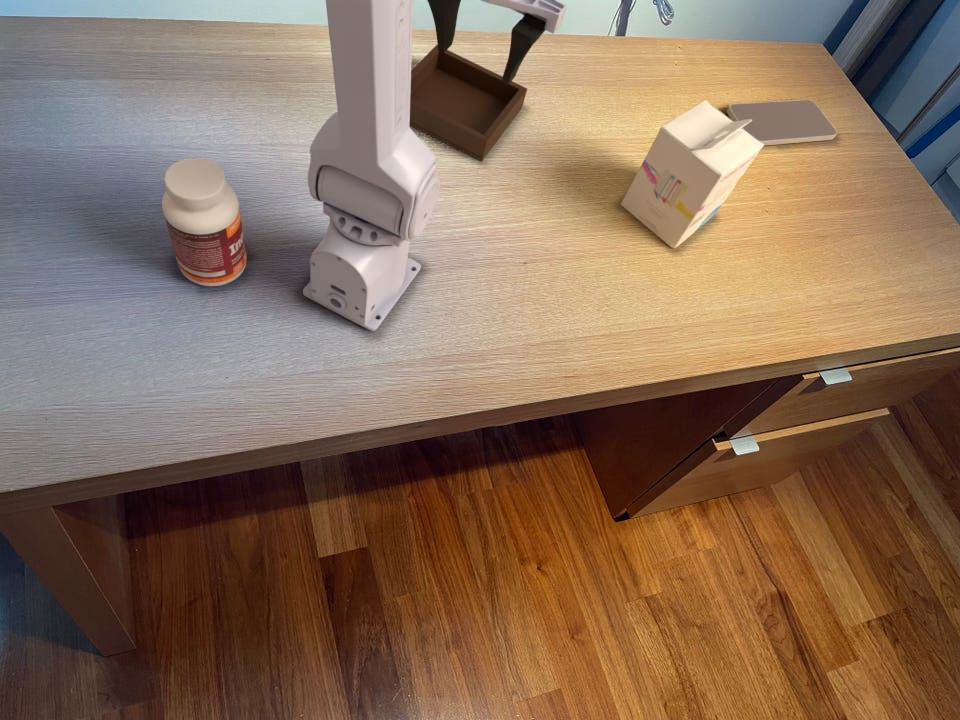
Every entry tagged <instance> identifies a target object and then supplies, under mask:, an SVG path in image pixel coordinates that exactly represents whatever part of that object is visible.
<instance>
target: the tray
mask: <svg viewBox="0 0 960 720" xmlns="http://www.w3.org/2000/svg"><path fill="white" fill-rule="evenodd" d="M502 79H503V75H500V74H498V73H497V72H494V71H492V70H490V69H488V68H486V67H484V66H482V65H481V64H480V65H479V64H478V63H475V62H473V61H471V60H470V59H467V58H465V57H463V56H461V55H459V54H457V53H455V52H453V51H451V50H449V49H447V50H446V51H445V52H444V53H441V52H439V51H438V44H436V45H435V46H434V47H432V49H431V50H430V51H428V52H427V54H426V55H425V56H424V57H422V59H421V60H420V61H419V62H418V63H417V64H416V65H415V66H414V67H413V68H412V69H411V93H410V124H409V127H412V128H414V129H417V130H418V131H420V132H422V133H424V134H425V135H427V136H430V137H431V138H433V139H436V140H438V141H440V142H442V143H444V144H446V145H448V146H450V147H452V148H454V149H456V150H458V151H460V152H462V153H464V154H466V155H468V156H470V157H471V158H474V159H476V160H478V161H480V162H483V161H484V160H485V158H486V157H487V156H488V154H489V153H490V152H491V151H492V149H493V148H494V146H495V145H496V143H497V142H498V141H499V140H500V138H501V137H502V136H503V135H504V133H505V131H506V130H507V129H508V128H509V126H510V125H511V124H512V123H513V121H514V120H515V118H516V117H517V116H518V115H519V113H520V112H521V110H522V109H523V105H524V103H525V99H526V95H527V92H528V88H527V87H525V86H523V85H521V84H519V83H517V82H514V81H513V80H512V81H511V82H510V83H509V85H506V84H504V83H502Z"/></svg>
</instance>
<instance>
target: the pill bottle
mask: <svg viewBox="0 0 960 720" xmlns="http://www.w3.org/2000/svg"><path fill="white" fill-rule="evenodd" d="M225 175H226V174H225V172H224V170H223V169H222V168H221V167H220V166H219V165H218V164H217V163H216V162H214V161H212V160H209V159H206V158H202V157H189V158H183V159H180V160H177V161H176V162H174V163H173V164H171V165H169V167H168V168H167V170H166V171H165V174H164V186H165V192H164V194H163V196H162V201H161V208H162V212H163V217H164V220H165V224H166V227H167V231H168V235H169V238H170V241H171V245H172V248H173V252H174V255H175V259H176V263H177V266H178V268H179V270H180V272H181V273H182V275H183V276H184V277H185V278H186V279H188V280H189V281H191V282H192V283H195V284H197V285H199V286H204V287H220V286H223V285H227V284H230V283H231V282H233V281H235V280H237V279H238V278H239V277H240V276H241V275H242V274H243V272H244V271H245V269H246V266H247V261H248V259H247V258H248V256H247V255H248V254H247V249H246V243H245V237H244V236H245V235H244V228H243V223H242V214H241V209H240V203H239V199H238V196H237V194H236V192H235V190H234V189H233V188H232V187H231V186H230V185H229V184H228V183H227V180H226V176H225Z"/></svg>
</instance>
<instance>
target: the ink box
mask: <svg viewBox="0 0 960 720" xmlns="http://www.w3.org/2000/svg"><path fill="white" fill-rule="evenodd" d="M751 121H752V119H747V120H741V121H736V122H733V121H732V120H731V118H730V117H729V116H727V115H726V114H725V113H723V112H722V111H721V110H719V109H718V108H717V107H715V105H713V104H711V102H709V101H708V100H707V99H704V100H702V101H700V102H699V103H697V104H695V105H694V106H692V107H690V108H689V109H687V110H686V111H684V112H683V113H681V114H679V115H678V116H676V117H675V118H673V119H671V120H669V121H668V122H666V123H665V124H663V125H662V126H661V127H660V128H659V130H658V133H657V134H656V136H655V138H654V141H653V143H652V144H651V146H650V148H649V150H648V152H647V154H646V156H645V158H644V159H643V161H642V163H641V165H640V167H639V169H638V171H637V173H636V175H635V176H634V178H633V180H632V183H631V184H630V186H629V188H628V189H627V191H626V194H625V195H624V198H623V199H622V201H621V202H620V203H621V206H622V207H623V208H624V209H625V210H626V211H628V213H630V215H632V216H633V217H635V218H636V219H637V220H638V221H639V222H641V224H643V225H644V226H645V227H646V228H648V229H649V230H650V231H651V232H652V233H654V234H655V235H656V236H657V237H658V238H660V239H661V240H662V241H663V242H664V243H666V244H667V245H668V246H669V247H670V248H671V249H676V248H678V247H679V246H680V245H681V244H682V243H684V241H686V240H687V239H688V238H690V237H691V236H692V235H693V234H694V233H696V232H697V231H698V230H699V229H700V228H702V226H703V225H705V224H706V223H708V222H709V221H710V220H711V219H712V218H713V217H714V216H715V215H717V212H719V210H720V209H721V207H722V206H723V203H725V201H726V200H727V199H728V197H729V196H730V194H731V192H732V191H733V190H734V188H735V187H736V185H737V184H738V183H739V181H740V179H742V177H743V176H744V174H745V172H746V171H747V170H748V168H749V167H750V165H751V164H752V163H753V161H754V159H756V157H757V155H758V154H759V153H760V151H761V150H762V148H763V147H764V146H765V145H764V144H763V143H761V142H760V141H759V140H757V139H756V138H754V137H753V136H752V135H750V134H749V133H748V132H746V131H745V130H744V129H742V127H744V126H745V125H747V124H748V123H750V122H751Z"/></svg>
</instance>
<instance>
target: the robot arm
mask: <svg viewBox="0 0 960 720" xmlns="http://www.w3.org/2000/svg"><path fill="white" fill-rule="evenodd" d="M426 1H427V3H428V6H429V9H430V11H431V14H432V18H433V22H434V27H435V34H436V42H437V43H436V45H438V51H439V52H441V53H444V52H445V51H446V50H449V48H450V47H451V46H452V45H453V42H454V39H455V33H456V28H457V20H458V15H459V10H460V5H461V3H462V0H426ZM480 1H482V2H484V3H487V4H490V5H495V6H499V7H502V8H506V9H510V10H512V11H514V12H516V13H518V14H521V15H523V17H521V19H520V20H519V21H517V22H516V24H515V25H514V26H513V27H512V29H511V34H510V46H509V53H508V58H507V62H506V65H505V68H504V71H503V74H502V77H503V79H502V83H504V84H506V85H509V83H510V82H511V81H513V80H514V79H515V78H516V75H517V73H518V70H519V68H520V67H521V65H522V63H523V61H524V59H525V58H526V56H527V54H528V53H529V51H530V50H531V49H532V46H533V45H534V44H535V43H536V42H537V41H538V40H539V39H540V37H542V35H543V34H544V33H545V31H547V32H549V33H551V34H555V33H556V32H557V31H558V29H559V28H560V27H561V25H562V23H563V20H564V16H565V14H566V11H567V5H566V4H564V3H562V2H560V1H558V0H480ZM325 5H326V6H325V7H326V17H327V26H328V34H329V46H330V52H331V53H330V54H331V63H332V73H333V80H334V81H333V82H334V90H335V99H336V100H335V101H336V110H337V111H336V112H334V113H333V114H332V115H330V117H329V118H328V119H326V121H325V122H324V123H323V124H322V126H321V127H320V129H319V131H318V132H317V133H316V135H315V136H314V138H313V140H312V142H311V144H310V147H309V154H310V159H309V160H310V161H309V166H308V171H307V186H308V189H309V190H308V191H309V194H310V197H311V198H312V199H313V200H315V201H317V202H321V203H322V213H323V214H324V215H326V216H327V217H329V223H328V226H327V230H326V231H325V235H324V236H323V239H322V240H321V242H320V243H319V244H318V245H317V246H316V248H315V249H314V250H313V252H312V253H311V255H310V258H309V277H310V281H309V282H308V283H307V284H306V285H305V287H304V288H303V289H302V294H303V296H304V297H306V298H308V299H309V300H311V301H313V302H315V303H317V304H319V305H320V306H323V307H325V308H327V309H328V310H330V311H332V312H334V313H336V314H338V315H340V316H341V317H344V318H346V319H347V320H349V321H351V322H353V323H355V324H357V325H359V326H360V327H362V328H364V329H366V330H368V331H370V332H375V331H377V330H378V328H379V327H380V325H381V324H382V323H383V322H384V320H385V319H386V317H387V316H388V315H389V313H390V312H391V311H392V309H393V308H394V307H395V305H396V304H397V302H398V301H399V299H401V297H402V295H404V293H405V292H406V290H407V289H408V287H409V286H410V285H411V283H412V282H413V280H414V279H415V278H416V276H417V275H418V273H419V272H420V271H421V268H422V265H421V263H420V262H418V261H416V260H415V259H412V258H410V257H409V250H410V245H411V240H414V238H418V237H419V236H420V235H421V234H422V232H423V231H424V229H425V228H426V226H427V224H428V222H429V221H430V218H431V216H432V214H433V211H434V209H435V207H436V204H437V201H438V199H439V195H440V191H441V179H440V176H439V172H438V169H437V168H438V167H437V164H436V163H437V156H436V155H435V154H434V152H433V151H432V150H431V149H430V148H429V146H427V144H426V143H425V142H423V140H422V139H421V138H420V137H419V136H418V135H417V134H416V132H414V131H413V129H412V128H411V126H410V125H409V124H410V93H411V71H412V62H413V61H412V60H413V56H412V55H413V28H414V27H413V24H414V23H413V22H414V0H325ZM378 318H379V319H378Z"/></svg>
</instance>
